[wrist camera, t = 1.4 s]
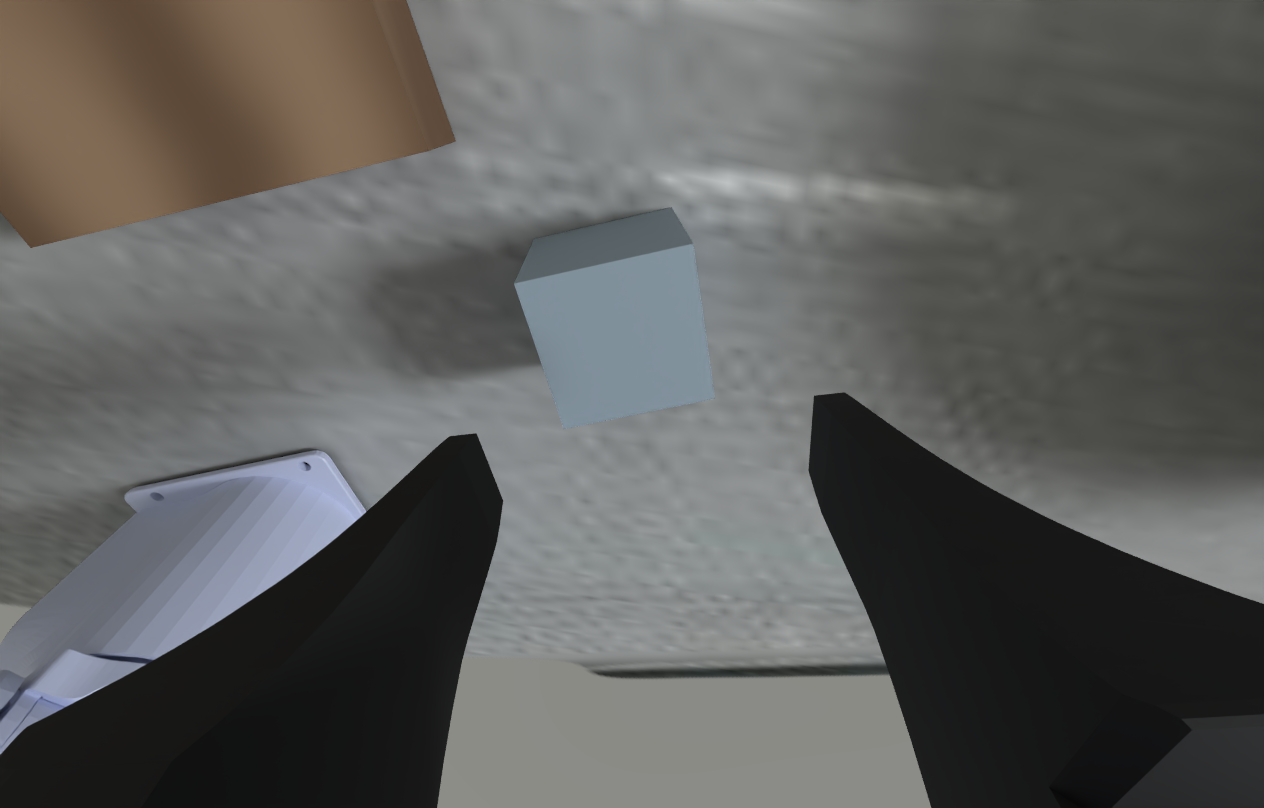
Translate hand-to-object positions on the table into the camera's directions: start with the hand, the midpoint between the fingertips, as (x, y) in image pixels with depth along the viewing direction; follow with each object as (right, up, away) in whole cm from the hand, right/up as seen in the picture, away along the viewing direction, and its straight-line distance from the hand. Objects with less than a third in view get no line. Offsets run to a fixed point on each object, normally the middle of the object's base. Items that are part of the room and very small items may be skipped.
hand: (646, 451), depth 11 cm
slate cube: (-1, +5, +8) cm, 10 cm away
